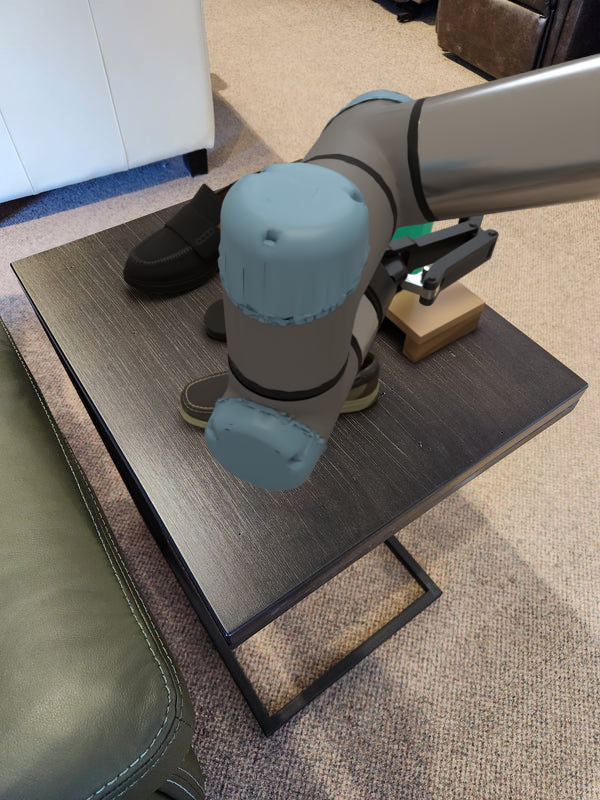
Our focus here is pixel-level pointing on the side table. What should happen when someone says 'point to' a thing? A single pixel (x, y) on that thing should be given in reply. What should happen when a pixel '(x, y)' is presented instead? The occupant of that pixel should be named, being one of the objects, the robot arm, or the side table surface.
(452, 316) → the oak shelf
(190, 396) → the boat shoe
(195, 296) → the side table surface
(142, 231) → the side table surface
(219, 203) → the loafer
